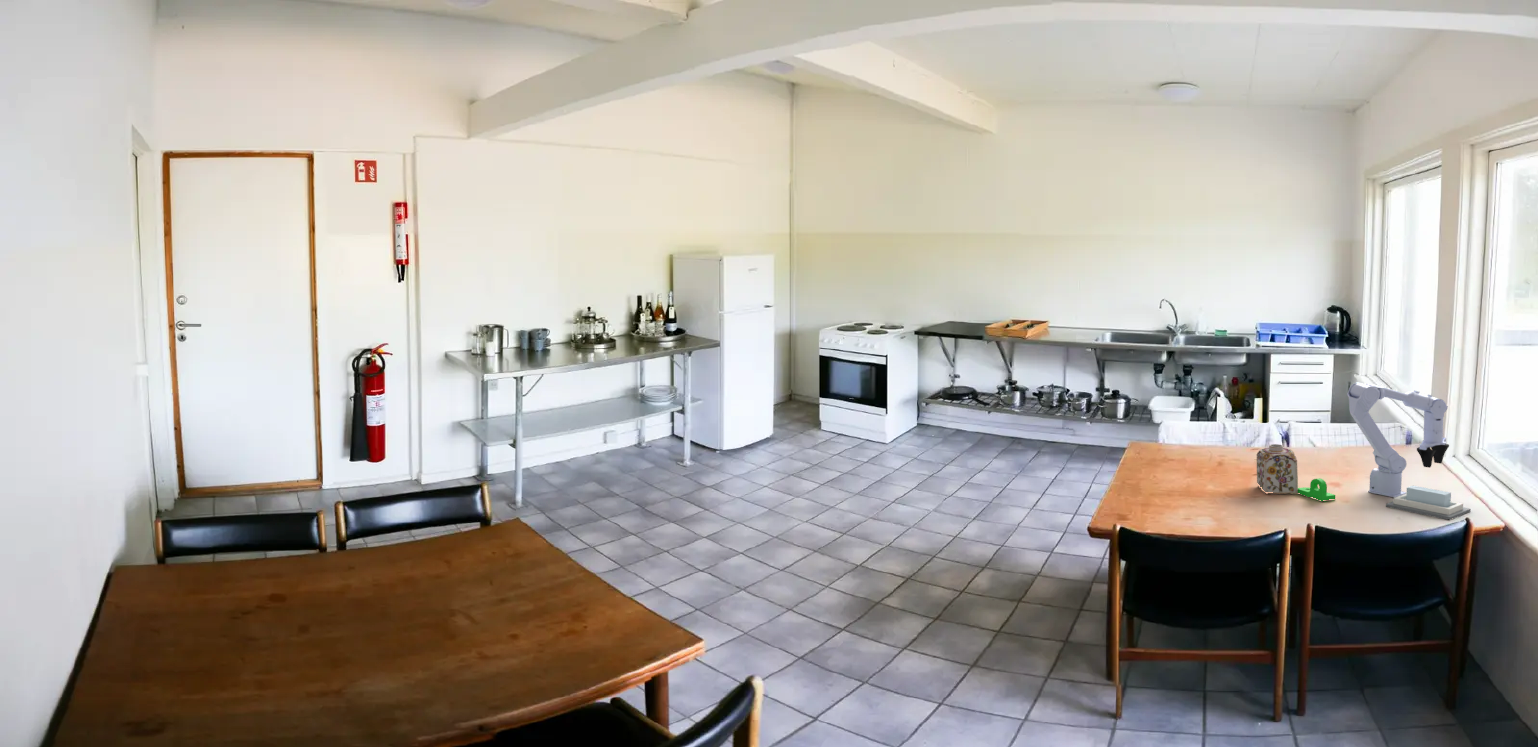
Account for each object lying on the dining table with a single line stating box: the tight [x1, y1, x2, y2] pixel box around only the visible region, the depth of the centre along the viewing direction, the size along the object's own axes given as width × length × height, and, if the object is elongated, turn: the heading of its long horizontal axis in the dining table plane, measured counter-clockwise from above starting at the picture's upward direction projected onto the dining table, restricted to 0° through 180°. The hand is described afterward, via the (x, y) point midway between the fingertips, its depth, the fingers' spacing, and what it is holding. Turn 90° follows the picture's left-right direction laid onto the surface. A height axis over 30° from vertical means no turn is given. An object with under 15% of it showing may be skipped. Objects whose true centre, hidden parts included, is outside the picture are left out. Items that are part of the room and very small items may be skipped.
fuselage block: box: [1406, 485, 1452, 508], centre depth 314 cm, size 12×4×6 cm, turn 28°
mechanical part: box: [1298, 477, 1336, 502], centre depth 335 cm, size 12×6×8 cm, turn 13°
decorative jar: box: [1256, 443, 1299, 493], centre depth 345 cm, size 12×12×18 cm
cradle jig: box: [1385, 492, 1472, 520], centre depth 314 cm, size 20×14×3 cm
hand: (1432, 465), depth 330 cm, fingers open, 7 cm apart
